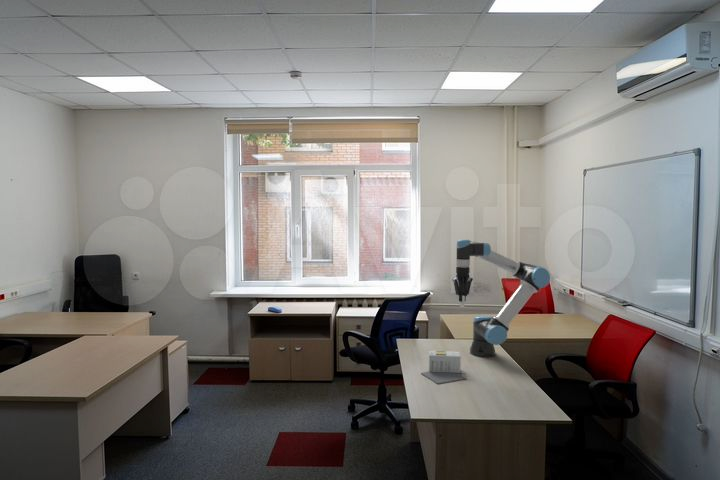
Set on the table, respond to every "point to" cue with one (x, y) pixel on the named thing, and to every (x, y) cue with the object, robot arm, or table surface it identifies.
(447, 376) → the graphite mat
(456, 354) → the supplement box
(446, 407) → the table surface
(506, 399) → the table surface
